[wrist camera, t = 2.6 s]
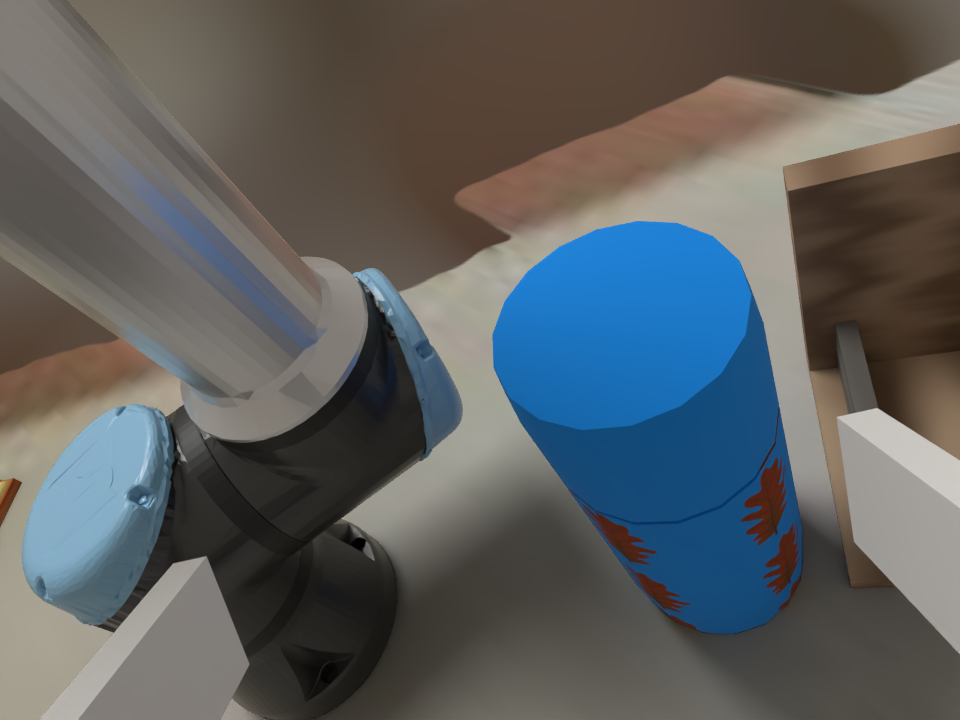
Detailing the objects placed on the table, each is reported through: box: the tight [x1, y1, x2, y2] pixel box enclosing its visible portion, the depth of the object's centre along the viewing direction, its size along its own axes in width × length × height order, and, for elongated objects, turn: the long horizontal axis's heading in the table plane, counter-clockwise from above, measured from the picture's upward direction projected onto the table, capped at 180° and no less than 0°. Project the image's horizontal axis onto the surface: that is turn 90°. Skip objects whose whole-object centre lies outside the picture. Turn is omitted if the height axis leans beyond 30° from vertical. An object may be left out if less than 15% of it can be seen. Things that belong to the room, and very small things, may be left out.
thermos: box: [493, 221, 803, 634], centre depth 37 cm, size 11×11×25 cm
